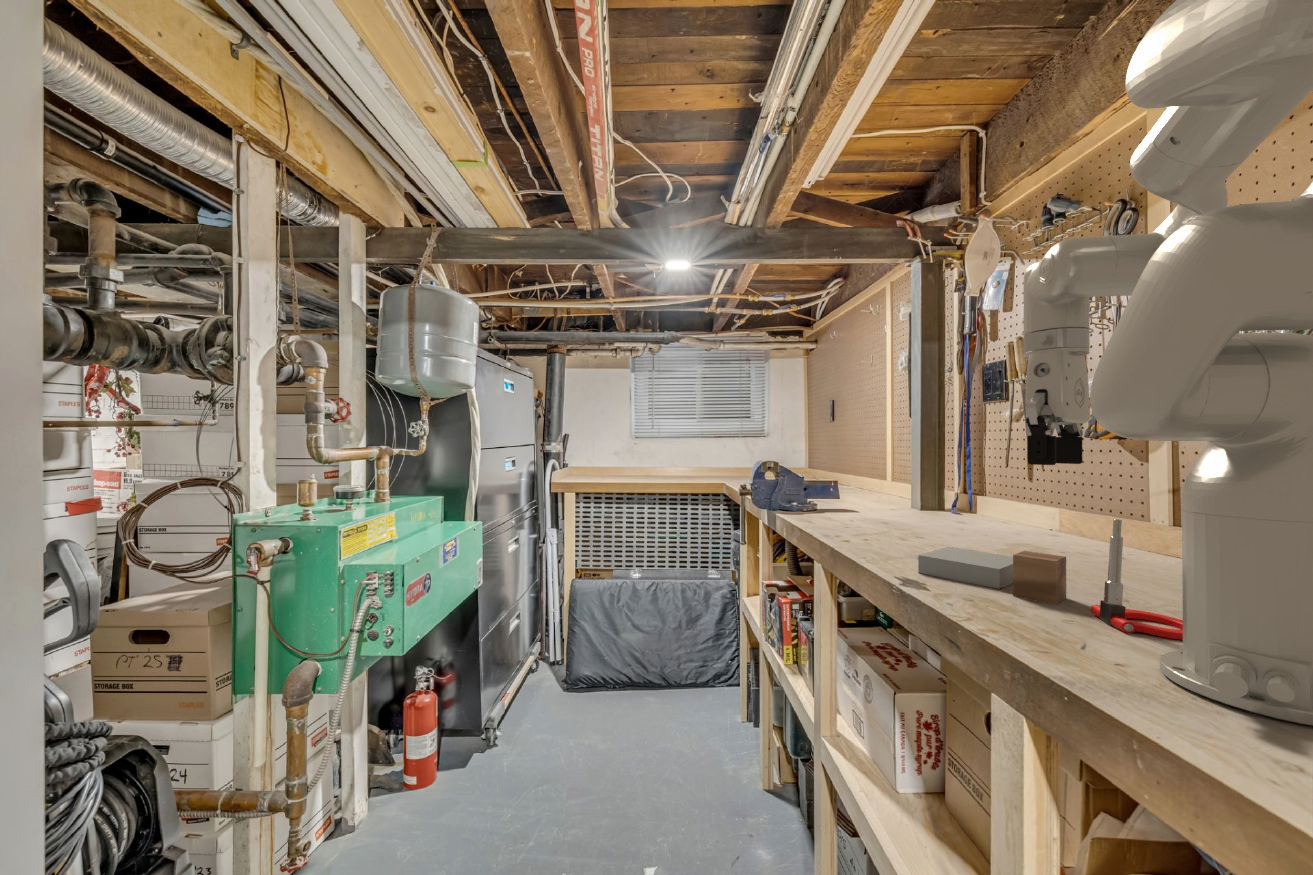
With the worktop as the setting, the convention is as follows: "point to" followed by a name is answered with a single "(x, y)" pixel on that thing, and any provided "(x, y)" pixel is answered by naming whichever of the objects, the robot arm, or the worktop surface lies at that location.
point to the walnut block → (1039, 577)
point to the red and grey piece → (1113, 595)
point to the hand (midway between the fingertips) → (1055, 464)
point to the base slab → (968, 566)
